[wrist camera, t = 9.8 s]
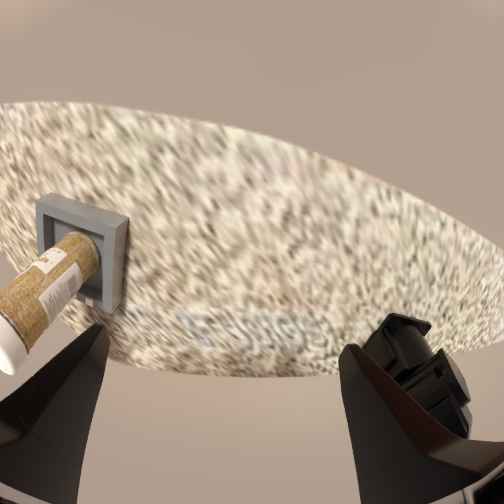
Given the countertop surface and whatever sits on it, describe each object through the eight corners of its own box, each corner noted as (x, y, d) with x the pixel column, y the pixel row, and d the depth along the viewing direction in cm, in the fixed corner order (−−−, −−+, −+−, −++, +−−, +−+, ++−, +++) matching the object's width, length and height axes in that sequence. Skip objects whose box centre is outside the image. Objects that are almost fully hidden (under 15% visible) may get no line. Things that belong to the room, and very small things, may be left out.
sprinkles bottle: (73, 219, 20) (-36, 309, 8) (109, 252, 21) (14, 364, 9) (59, 253, 22) (-29, 341, 10) (91, 282, 23) (14, 386, 11)
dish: (128, 217, 21) (114, 229, 18) (121, 300, 25) (111, 315, 22) (51, 192, 20) (34, 201, 18) (53, 271, 24) (40, 283, 21)
